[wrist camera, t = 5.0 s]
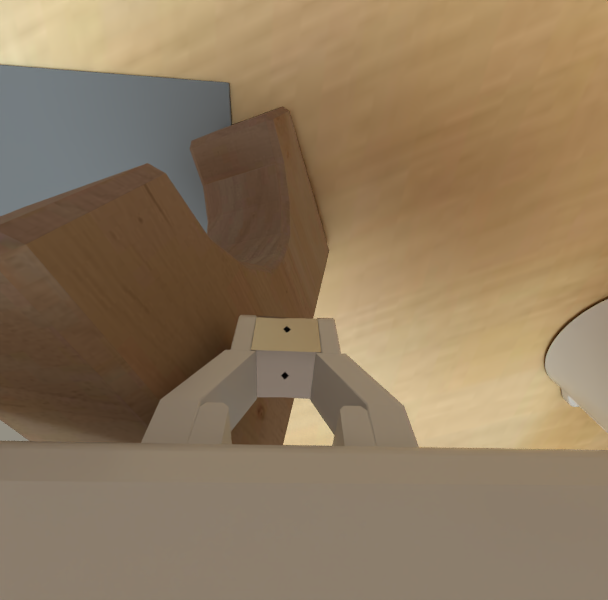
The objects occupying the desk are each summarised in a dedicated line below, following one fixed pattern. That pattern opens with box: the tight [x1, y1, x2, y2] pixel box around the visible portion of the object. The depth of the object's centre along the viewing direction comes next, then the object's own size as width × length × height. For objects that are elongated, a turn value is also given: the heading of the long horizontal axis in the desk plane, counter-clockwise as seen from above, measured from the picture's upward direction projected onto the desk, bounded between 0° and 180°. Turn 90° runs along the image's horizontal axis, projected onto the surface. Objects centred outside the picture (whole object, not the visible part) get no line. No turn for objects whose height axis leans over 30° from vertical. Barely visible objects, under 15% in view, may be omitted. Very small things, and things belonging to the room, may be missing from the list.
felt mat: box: [0, 65, 232, 234], centre depth 24 cm, size 20×14×1 cm
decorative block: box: [0, 107, 329, 445], centre depth 16 cm, size 11×6×20 cm, turn 16°
